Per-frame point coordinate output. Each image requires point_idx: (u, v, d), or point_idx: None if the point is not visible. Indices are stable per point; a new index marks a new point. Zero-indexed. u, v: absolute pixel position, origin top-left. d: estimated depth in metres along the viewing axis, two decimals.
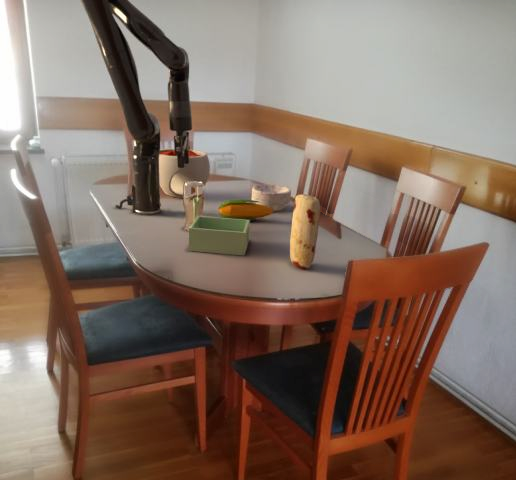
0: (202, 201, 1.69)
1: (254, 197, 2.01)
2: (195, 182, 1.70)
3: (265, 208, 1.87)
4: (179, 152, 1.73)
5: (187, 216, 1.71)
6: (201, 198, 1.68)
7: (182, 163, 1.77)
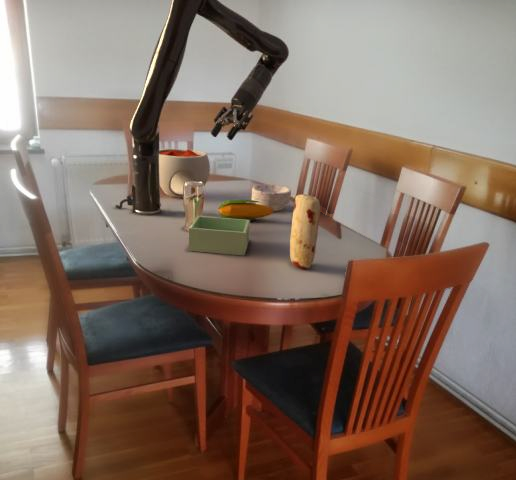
0: (202, 201, 1.69)
1: (254, 197, 2.01)
2: (195, 182, 1.70)
3: (265, 208, 1.87)
4: (243, 126, 1.65)
5: (187, 216, 1.71)
6: (201, 198, 1.68)
7: None
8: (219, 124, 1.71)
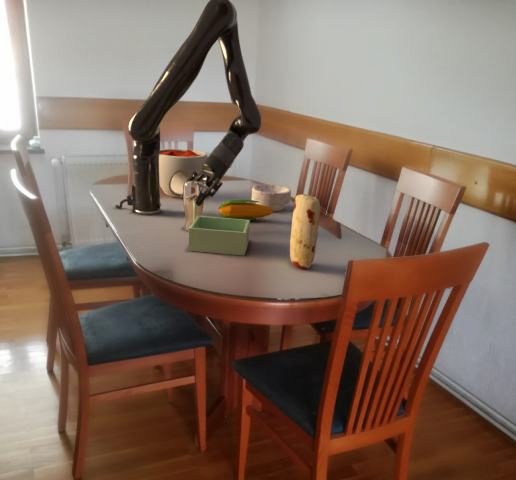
0: None
1: (254, 197, 2.01)
2: (195, 182, 1.70)
3: (265, 208, 1.87)
4: (211, 193, 1.66)
5: (187, 216, 1.71)
6: None
7: (201, 202, 1.67)
8: None
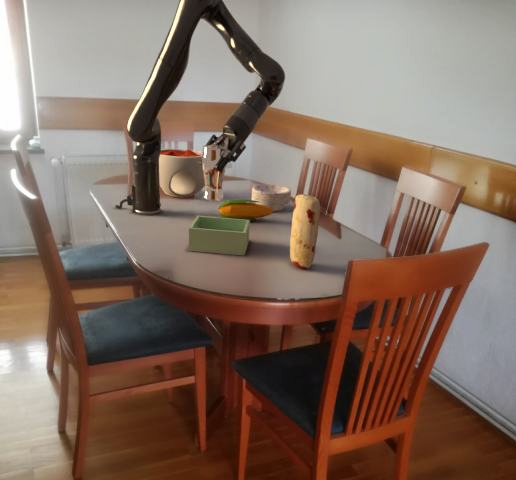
0: None
1: (254, 197, 2.01)
2: (215, 146, 1.55)
3: (265, 208, 1.87)
4: (234, 158, 1.50)
5: (207, 184, 1.55)
6: None
7: None
8: None
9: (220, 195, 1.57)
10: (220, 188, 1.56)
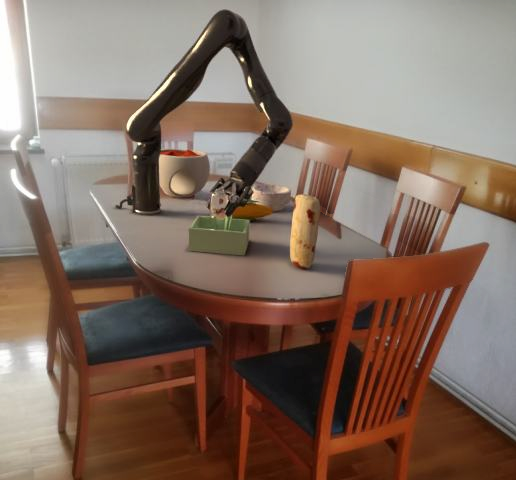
0: None
1: (254, 197, 2.01)
2: (223, 192, 1.56)
3: (265, 208, 1.87)
4: (243, 203, 1.51)
5: (214, 229, 1.56)
6: None
7: None
8: None
9: None
10: None
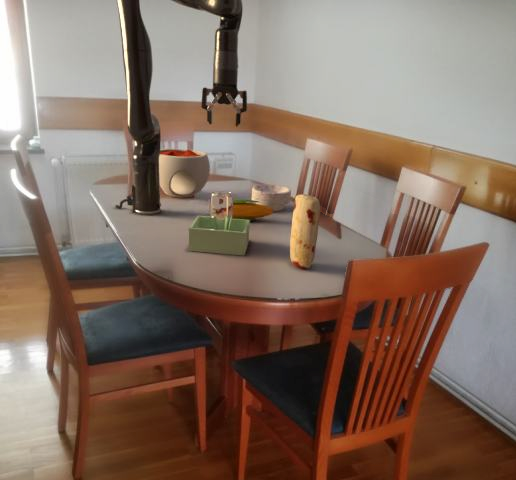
0: (231, 213, 1.55)
1: (254, 197, 2.01)
2: (223, 192, 1.56)
3: (265, 208, 1.87)
4: None
5: (214, 229, 1.56)
6: (230, 210, 1.54)
7: None
8: (211, 110, 1.65)
9: None
10: None
